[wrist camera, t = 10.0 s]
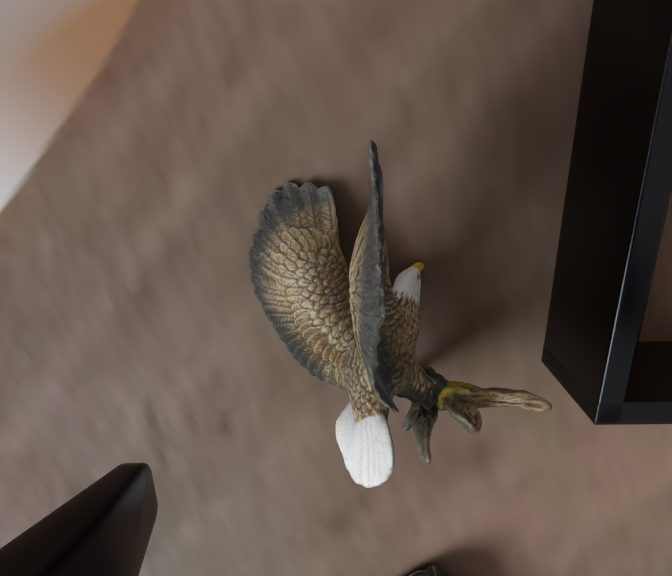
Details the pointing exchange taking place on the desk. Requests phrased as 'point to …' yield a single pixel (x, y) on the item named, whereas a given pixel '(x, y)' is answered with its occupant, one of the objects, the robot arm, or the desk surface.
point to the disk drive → (428, 572)
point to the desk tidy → (616, 220)
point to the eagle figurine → (358, 325)
